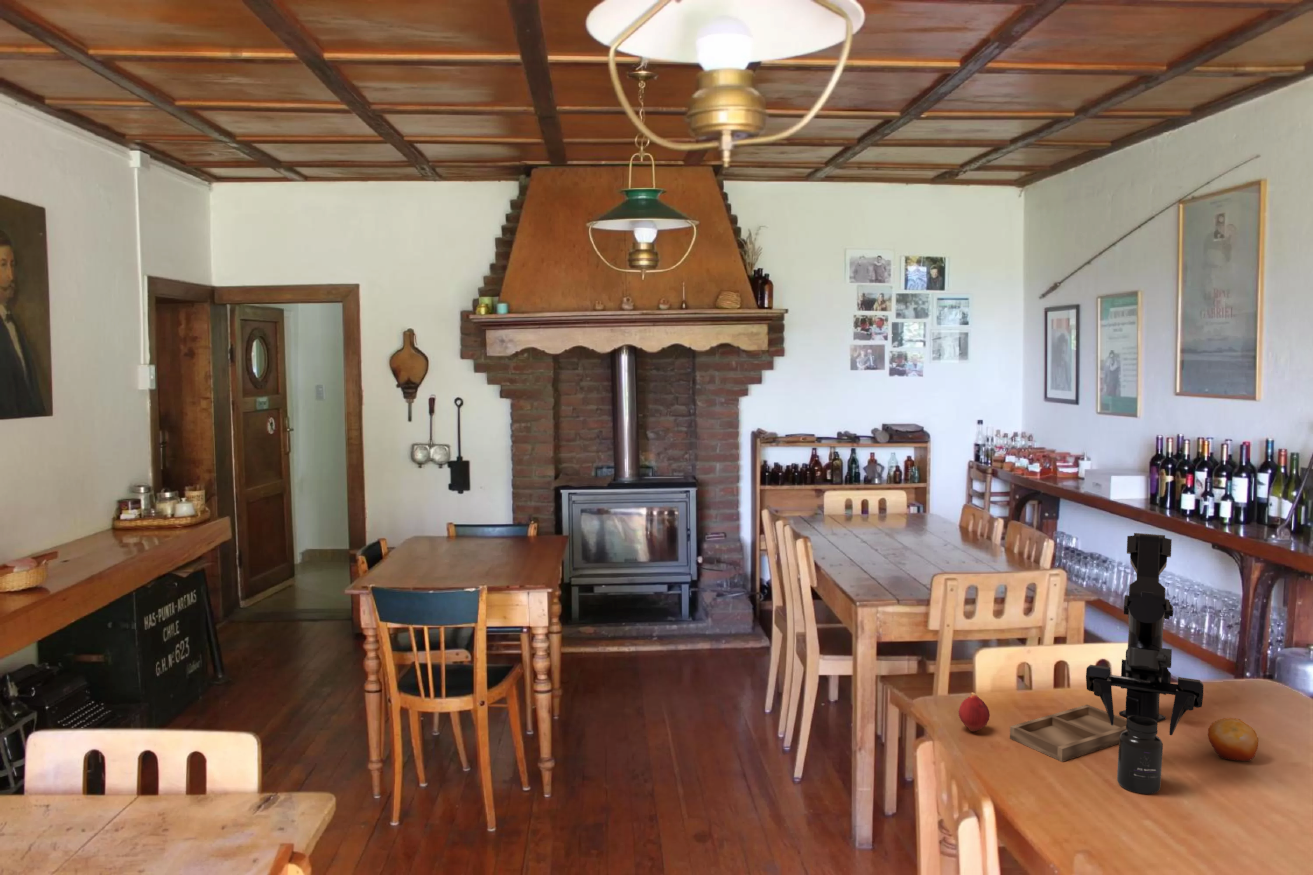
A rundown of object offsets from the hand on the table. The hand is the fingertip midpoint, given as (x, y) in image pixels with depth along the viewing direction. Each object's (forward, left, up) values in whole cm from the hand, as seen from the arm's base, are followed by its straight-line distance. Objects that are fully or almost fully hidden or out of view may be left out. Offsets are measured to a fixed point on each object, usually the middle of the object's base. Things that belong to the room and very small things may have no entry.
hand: (1141, 729), depth 162 cm
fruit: (-24, +2, -10) cm, 26 cm away
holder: (-6, -18, -9) cm, 21 cm away
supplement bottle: (+2, +1, -10) cm, 10 cm away
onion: (+9, -30, -10) cm, 33 cm away
